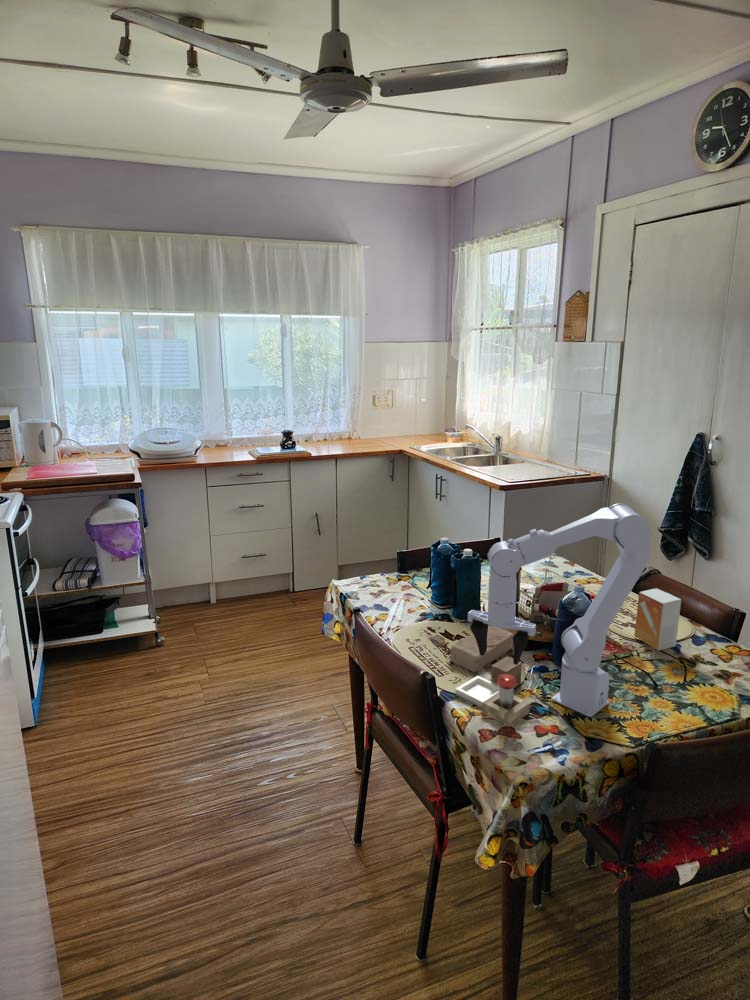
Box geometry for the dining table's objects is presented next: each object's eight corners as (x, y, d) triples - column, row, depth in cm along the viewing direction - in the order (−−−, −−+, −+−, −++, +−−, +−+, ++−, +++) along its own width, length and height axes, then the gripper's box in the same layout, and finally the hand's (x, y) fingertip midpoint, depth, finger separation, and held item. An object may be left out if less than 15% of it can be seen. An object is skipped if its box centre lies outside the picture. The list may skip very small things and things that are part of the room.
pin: (519, 713, 135) (520, 679, 133) (507, 721, 133) (509, 686, 131) (503, 705, 138) (504, 672, 136) (492, 713, 135) (493, 679, 133)
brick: (476, 673, 152) (477, 655, 150) (448, 661, 157) (448, 644, 156) (514, 649, 163) (515, 632, 162) (486, 639, 169) (487, 622, 168)
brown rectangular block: (520, 682, 147) (521, 662, 146) (505, 691, 143) (506, 671, 142) (506, 675, 150) (507, 656, 149) (490, 685, 146) (491, 665, 145)
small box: (633, 637, 168) (638, 591, 165) (652, 633, 170) (656, 587, 167) (657, 651, 161) (663, 603, 157) (676, 646, 163) (682, 598, 160)
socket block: (529, 713, 135) (529, 702, 135) (509, 727, 130) (510, 716, 130) (501, 700, 140) (502, 689, 139) (482, 712, 135) (482, 702, 135)
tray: (506, 694, 142) (506, 688, 142) (484, 709, 137) (484, 702, 136) (477, 681, 148) (477, 675, 147) (455, 694, 142) (455, 688, 142)
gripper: (542, 599, 134) (538, 658, 138) (477, 586, 142) (475, 642, 145) (530, 611, 128) (527, 673, 132) (464, 597, 136) (462, 655, 139)
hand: (499, 658), depth 138 cm, fingers open, 7 cm apart
